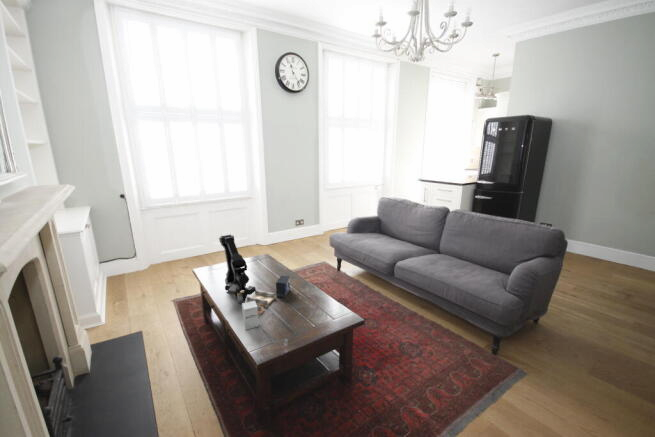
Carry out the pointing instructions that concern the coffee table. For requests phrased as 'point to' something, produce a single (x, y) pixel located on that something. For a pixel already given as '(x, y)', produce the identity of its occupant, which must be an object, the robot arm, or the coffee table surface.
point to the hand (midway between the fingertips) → (241, 300)
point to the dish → (260, 310)
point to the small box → (282, 286)
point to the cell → (240, 298)
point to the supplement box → (250, 315)
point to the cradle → (262, 298)
